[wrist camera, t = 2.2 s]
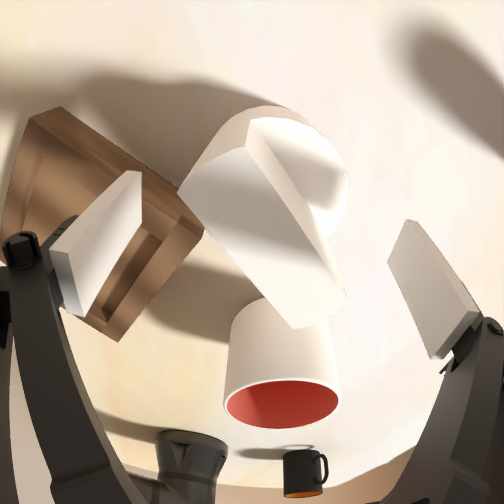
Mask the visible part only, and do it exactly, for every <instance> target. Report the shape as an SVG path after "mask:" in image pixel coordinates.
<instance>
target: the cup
mask: <svg viewBox="0 0 504 504" xmlns="http://www.w3.org/2000/svg"><path fill="white" fill-rule="evenodd" d="M341 400H342V396H341V390H340V384H339V378H338V373H337V367H336V361H335V356H334V351H333V345H332V340H331V335H330V330H329V325H328V322H327V319H326V320H324V321H321V322H318V323H315V324H312V325H309V326H306V327H303V328H300V329H293V328H292V327H291V326H290V325H289V324H288V323H287V322H286V320H285V319H284V318H283V317H282V316H281V315H280V314H279V312H278V311H277V310H276V309H275V308H274V307H273V306H272V304H271V303H270V302H269V301H268V300H267V299H266V298H265V297H264V298H260V299H258V300H255V301H253V302H251V303H249V304H248V305H246V306H245V307H244V308H243V309H242V310H241V311H240V312H239V313H238V314H237V315H236V317H235V318H234V320H233V323H232V326H231V332H230V341H229V351H228V360H227V370H226V380H225V390H224V401H223V406H224V409H225V411H226V412H227V414H228V415H229V416H230V417H232V418H233V419H235V420H236V421H238V422H240V423H243V424H245V425H248V426H252V427H256V428H262V429H293V428H299V427H304V426H308V425H311V424H314V423H317V422H319V421H321V420H323V419H325V418H327V417H329V416H330V415H331V414H333V413H334V412H335V411H336V410H337V409H338V407H339V406H340V404H341Z"/></svg>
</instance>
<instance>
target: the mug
mask: <svg viewBox="0 0 504 504" xmlns="http://www.w3.org/2000/svg"><path fill="white" fill-rule="evenodd" d="M320 457H321V458H322V459H323V460H324V468H325V476H324V479H323V480H322V475H321V462H320ZM328 474H329V471H328V461H327V458H326V456H325V455H323V454H320V453H319V452H318V451H316V450H297V451H292V452H289V453H286V454H285V455H284V456H283V476H284V497H287V498H305V497H312V496H317V495H320V494H322V493H323V491H322V484H324V483H325V482H326V480H327V478H328Z"/></svg>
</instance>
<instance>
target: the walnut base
mask: <svg viewBox="0 0 504 504" xmlns="http://www.w3.org/2000/svg"><path fill="white" fill-rule="evenodd" d="M127 170H128V171H138V172H142V179H141V205H142V223H141V225H140V226H139V228H138V229H137V231H136V232H135V234H134V235H133V237H132V238H131V240H130V241H129V243H128V245H127V246H126V248H125V249H124V251H123V253H122V254H121V256H120V257H119V259H118V261H117V262H116V264H115V265H114V267H113V269H112V270H111V272H110V274H109V275H108V277H107V279H106V280H105V282H104V284H103V286H102V287H101V289H100V291H99V293H98V294H97V296H96V298H95V300H94V301H93V303H92V305H91V307H90V309H89V310H88V312H87V314H86V316H85V317H81V316H78V315H74V314H73V315H74V316H76V317H77V318H79V319H80V320H82V321H83V322H85V323H87V324H88V325H90V326H91V327H93V328H94V329H96V330H98V331H99V332H101V333H103V334H104V335H106V336H108V337H109V338H111V339H113V340H114V341H116V342H119V341H120V339H121V338H122V337H123V335H124V334H125V333H126V331H127V330H128V329H129V328H130V326H131V325H132V324H133V322H134V321H135V320H136V318H137V317H138V316H139V315H140V313H141V312H142V311H143V310H144V308H145V307H146V306H147V305H148V303H149V302H150V301H151V299H152V298H153V297H154V296H155V294H156V293H157V292H158V291H159V289H160V288H161V287H162V286H163V284H164V283H165V282H166V281H167V280H168V278H169V277H170V276H171V275H172V273H173V272H174V271H175V270H176V269H177V267H178V266H179V265H180V264H181V262H182V261H183V260H184V259H185V258H186V256H187V255H188V254H189V253H190V252H191V250H192V249H193V248H194V247H195V246H196V244H197V243H198V242H199V241H200V240H201V238H202V235H203V232H204V229H205V228H204V226H203V224H202V223H201V222H200V220H199V219H198V218H197V217H196V216H195V215H194V213H193V212H192V211H191V210H190V209H189V207H188V206H187V205H186V204H185V203H184V201H183V200H182V199H181V198H180V197H179V195H178V194H177V192H178V190H179V189H177V188H176V187H174V186H173V185H172V184H170V183H169V182H167V181H166V180H165V179H163V178H162V177H160V176H159V175H157V174H156V173H155V172H153V171H152V170H150V169H149V168H147V167H146V166H145V165H143V164H142V163H140V162H139V161H137V160H136V159H135V158H133V157H132V156H130V155H129V154H127V153H126V152H125V151H123V150H122V149H120V148H119V147H117V146H116V145H115V144H113V143H112V142H110V141H109V140H107V139H106V138H105V137H103V136H102V135H100V134H99V133H97V132H96V131H94V130H93V129H92V128H90V127H89V126H87V125H86V124H84V123H83V122H81V121H80V120H79V119H77V118H76V117H74V116H73V115H71V114H70V113H68V112H67V111H66V110H64V109H63V108H61V107H58V108H55V109H52V110H49V111H46V112H44V113H41V114H38V115H35V116H32V117H30V118H29V120H28V123H27V126H26V129H25V132H24V135H23V138H22V141H21V144H20V147H19V150H18V154H17V157H16V160H15V164H14V168H13V171H12V175H11V179H10V184H9V188H8V192H7V197H6V202H5V207H4V212H3V218H2V224H1V230H0V260H1V261H2V262H3V263H4V264H5V265H7V263H6V260H5V257H4V253H3V250H2V245H3V243H4V241H5V240H6V239H7V238H8V237H10V236H11V235H13V234H15V233H18V232H21V231H32V232H34V233H36V235H37V238H38V242H39V246H41V245H42V244H43V243H44V242H45V241H46V239H47V238H48V237H49V236H50V235H52V233H53V232H54V231H55V230H56V229H58V227H59V226H60V225H61V224H62V223H63V222H64V221H65V220H66V219H68V218H70V217H72V216H74V215H81V214H82V213H83V212H84V211H85V210H86V209H87V208H88V207H89V206H90V205H91V204H92V203H93V202H94V201H95V200H96V199H97V198H98V197H99V196H100V195H101V194H102V193H103V192H104V191H105V190H106V189H107V188H108V187H109V186H110V185H111V184H113V183H114V182H115V181H116V180H117V179H118V178H119V177H120V176H121V175H122V174H123V173H125V172H126V171H127ZM60 306H61V307H62V308H64V309H65V310H66V307H65V304H64V301H63V302H62V304H61V305H60Z"/></svg>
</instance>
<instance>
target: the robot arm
mask: <svg viewBox="0 0 504 504" xmlns="http://www.w3.org/2000/svg"><path fill="white" fill-rule="evenodd" d="M141 179H142V172H138V171H128V170H127V171H126V172H125V173H123V174H122V175H121V176H120V177H119V178H118V179H117V180H116V181H115V182H114V183H113V184H111V185H110V186H109V187H108V188H107V189H106V190H105V191H104V192H103V193H102V194H101V195H100V196H99V197H98V198H97V199H96V200H95V201H94V202H93V203H92V204H91V205H90V206H89V207H88V208H87V209H86V210H85V211H84V212H83V213H82V214H81V215H74V216H72V217H70V218H68V219H66V220H65V221H64V222H63V223H62V224H61V225H60V226H59V227H58V229H56V230H55V231H54V232H53V233H52V235H50V236H49V237H48V238H47V239H46V241H45V242H44V243H43V244H42V245H41V246H39V242H38V238H37V235H36V233H34V232H32V231H21V232H18V233H15V234H13V235H11V236H10V237H8V238H7V239H6V240H5V241H4V243H3V245H2V250H3V253H4V257H5V260H6V263H7V266H1V267H0V504H19V500H18V495H17V489H16V484H15V478H14V470H13V462H12V452H11V440H10V422H9V386H10V366H11V354H12V344H13V335H14V342H15V349H16V355H17V361H18V366H19V371H20V376H21V381H22V385H23V390H24V394H25V398H26V402H27V406H28V409H29V413H30V416H31V420H32V423H33V426H34V429H35V432H36V436H37V439H38V442H39V444H40V447H41V450H42V453H43V456H44V458H45V461H46V463H47V466H48V468H49V471H50V474H51V477H52V482H51V485H50V490H51V494H52V497H53V499H54V502H55V504H215V494H216V482H217V478H218V476H219V473H220V471H221V469H222V467H223V465H224V463H225V461H226V459H227V454H228V446H227V445H226V444H225V443H224V442H222V441H220V440H218V439H215V438H213V437H210V436H206V435H202V434H198V433H192V432H185V431H164V432H160V433H158V434H157V437H156V442H155V448H156V454H157V460H158V466H159V473H158V479H157V480H155V479H151V478H147V477H144V476H140V475H138V474H134V473H131V472H128V471H126V470H125V469H124V467H123V465H122V463H121V462H120V460H119V458H118V456H117V454H116V452H115V451H114V449H113V447H112V445H111V443H110V441H109V439H108V437H107V435H106V433H105V431H104V429H103V427H102V425H101V423H100V421H99V419H98V416H97V414H96V412H95V410H94V408H93V405H92V403H91V401H90V398H89V396H88V393H87V391H86V389H85V386H84V384H83V381H82V378H81V376H80V373H79V370H78V368H77V365H76V362H75V359H74V357H73V354H72V351H71V348H70V345H69V341H68V338H67V335H66V332H65V328H64V325H63V322H62V318H61V314H60V312H59V307H60V305H61V304H62V302H63V301H64V304H65V307H66V310H67V313H71V314H74V315H78V316H81V317H85V316H86V314H87V312H88V310H89V309H90V307H91V305H92V303H93V301H94V300H95V298H96V296H97V294H98V293H99V291H100V289H101V287H102V286H103V284H104V282H105V280H106V279H107V277H108V275H109V274H110V272H111V270H112V269H113V267H114V265H115V264H116V262H117V261H118V259H119V257H120V256H121V254H122V253H123V251H124V249H125V248H126V246H127V245H128V243H129V241H130V240H131V238H132V237H133V235H134V234H135V232H136V231H137V229H138V228H139V226H140V225H141V223H142V205H141ZM387 263H388V265H389V267H390V269H391V271H392V273H393V275H394V277H395V280H396V282H397V284H398V286H399V288H400V290H401V292H402V294H403V296H404V299H405V301H406V303H407V305H408V307H409V310H410V312H411V314H412V316H413V319H414V321H415V323H416V326H417V328H418V330H419V333H420V335H421V338H422V340H423V343H424V345H425V348H426V350H427V353H428V355H429V358H430V359H444V358H445V356H446V355H447V354H448V353H449V352H450V350H451V349H452V352H453V354H454V356H453V357H452V358H451V360H450V361H449V362H448V363H447V364H446V365H445V366H444V367H443V369H442V370H441V371H440V372H439V373H440V374H442V373H443V372H444V371H446V373H445V375H444V379H443V382H442V385H441V388H440V390H439V393H438V396H437V399H436V401H435V404H434V406H433V409H432V411H431V414H430V416H429V419H428V421H427V423H426V426H425V428H424V430H423V432H422V435H421V437H420V439H419V441H418V443H417V445H416V447H415V450H414V451H413V454H412V455H411V458H410V460H409V461H408V463H407V465H406V467H405V469H404V471H403V473H402V474H401V476H400V478H399V480H398V482H397V483H396V485H395V487H394V488H393V490H392V491H391V492H390V493H389V494H388V495H387V496H386V497H385V498H383V499H382V500H381V501H380V502H379V501H378V502H373V503H367V504H504V330H503V329H502V327H501V326H500V324H499V323H498V322H497V321H496V320H494V319H492V318H491V317H485V318H484V316H483V314H482V313H481V311H480V309H479V308H478V306H477V304H476V303H475V301H474V299H473V298H471V297H472V296H471V295H470V293H469V292H468V290H467V288H466V287H465V285H464V284H463V282H462V281H461V280H460V279H459V277H458V276H457V275H456V273H455V272H454V270H453V269H452V267H451V266H450V264H449V263H448V261H447V260H446V259H445V257H444V256H443V254H442V253H441V252H440V250H439V249H438V248H437V246H436V245H435V244H434V242H433V241H432V240H431V238H430V237H429V236H428V234H427V233H426V232H425V230H424V229H423V228H422V227H421V225H420V224H419V223H418V222H417V221H413V220H409V219H406V221H405V223H404V225H403V228H402V230H401V232H400V235H399V237H398V239H397V241H396V244H395V246H394V248H393V250H392V252H391V254H390V257H389V259H388V261H387Z"/></svg>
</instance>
